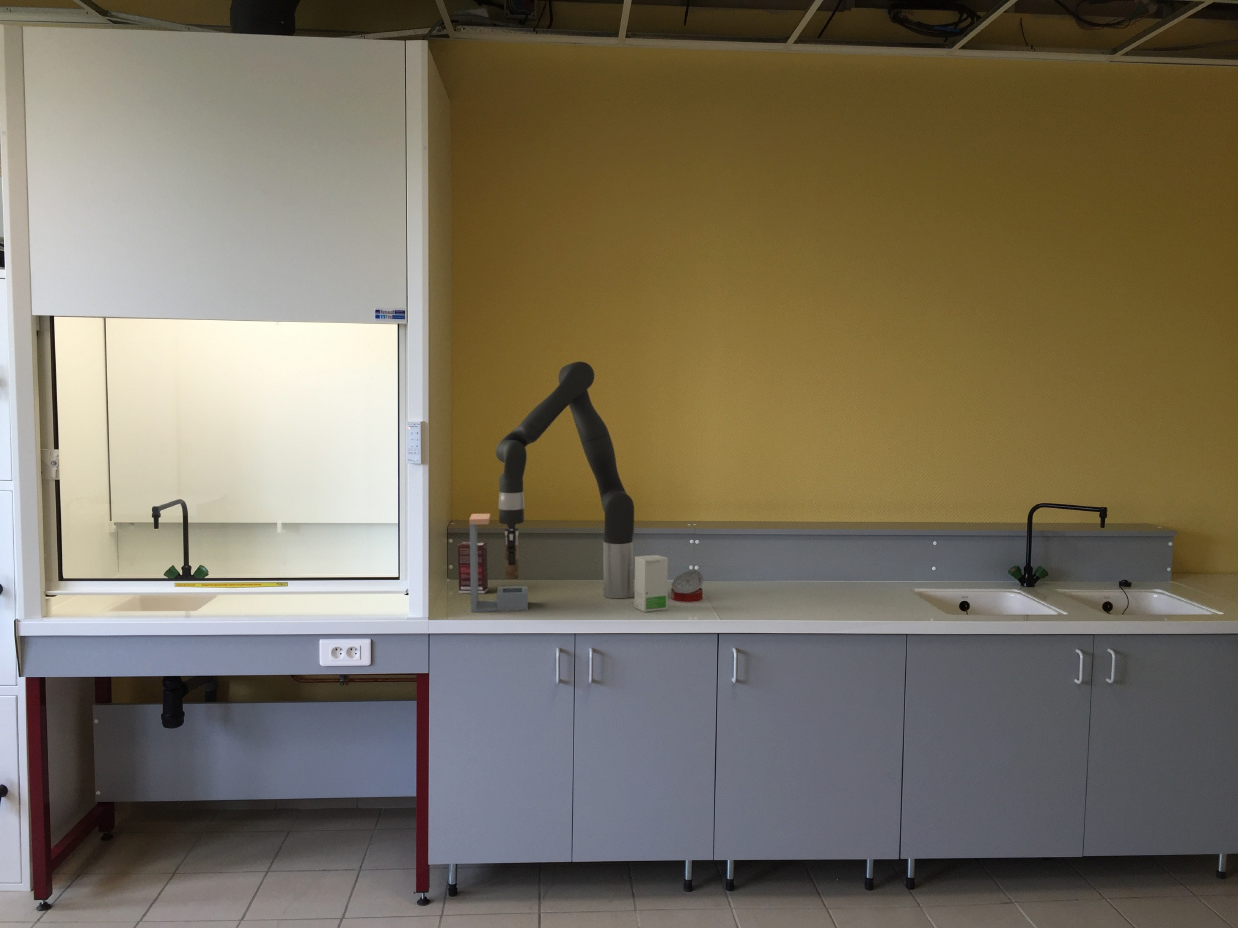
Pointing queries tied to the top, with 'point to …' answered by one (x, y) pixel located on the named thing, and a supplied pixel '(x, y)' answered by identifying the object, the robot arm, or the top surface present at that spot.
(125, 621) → the top surface
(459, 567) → the supplement box
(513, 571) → the peg
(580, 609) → the top surface
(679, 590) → the canned food
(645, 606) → the skincare box
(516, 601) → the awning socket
